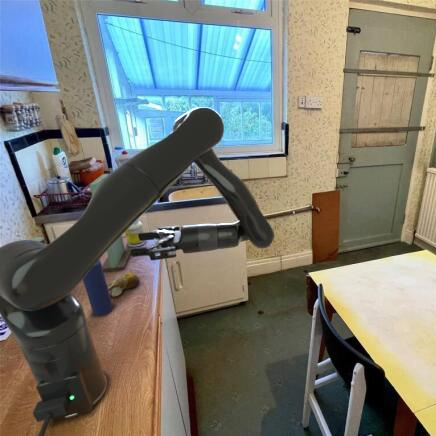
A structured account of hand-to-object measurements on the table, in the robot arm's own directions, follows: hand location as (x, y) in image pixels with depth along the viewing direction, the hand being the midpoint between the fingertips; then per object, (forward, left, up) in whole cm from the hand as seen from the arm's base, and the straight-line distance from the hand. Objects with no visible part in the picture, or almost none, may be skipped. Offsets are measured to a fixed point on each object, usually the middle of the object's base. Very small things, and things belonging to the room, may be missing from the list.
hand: (135, 244), depth 74 cm
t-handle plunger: (+1, +11, -19) cm, 22 cm away
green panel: (+27, +10, -19) cm, 35 cm away
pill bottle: (+40, +7, -19) cm, 45 cm away
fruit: (+11, +8, -19) cm, 24 cm away
